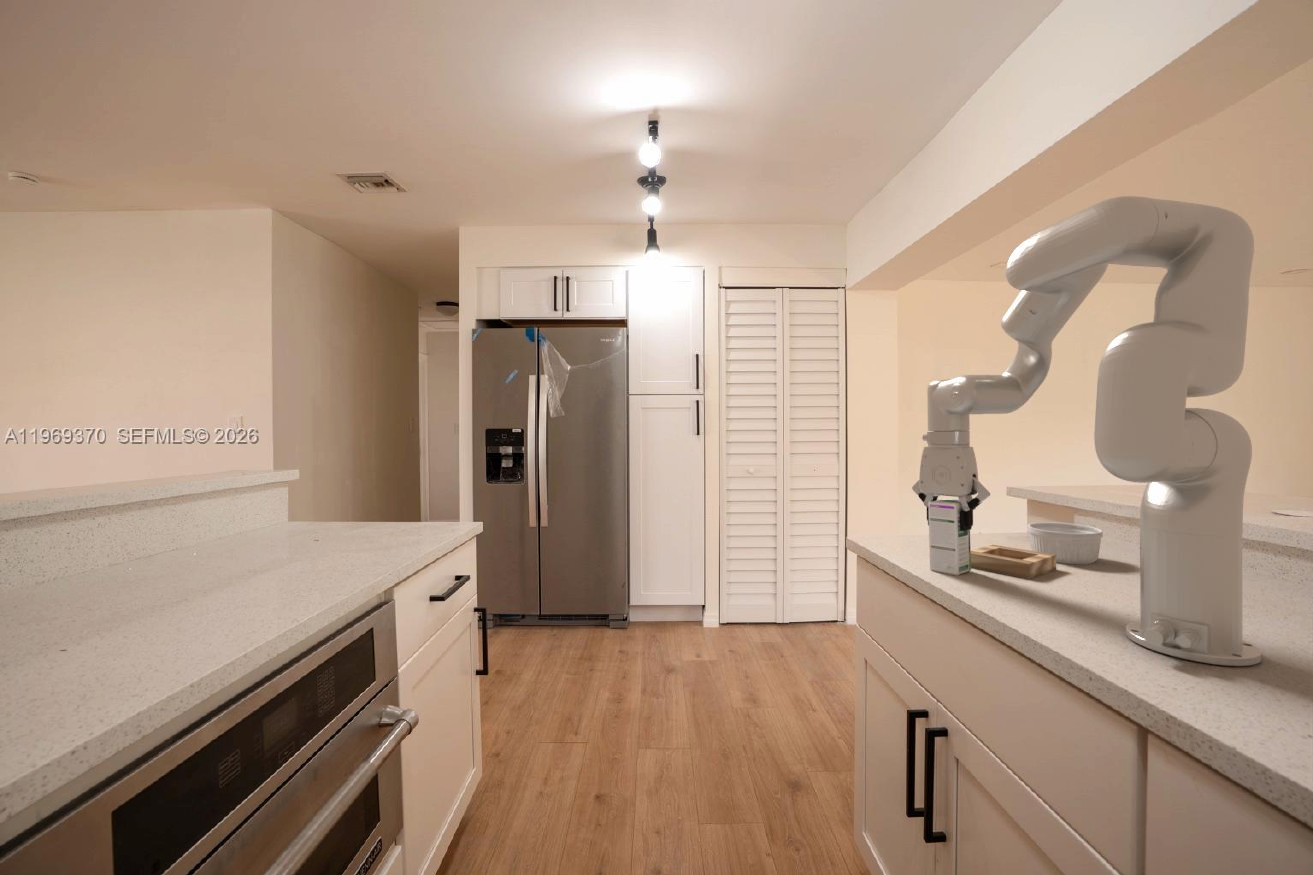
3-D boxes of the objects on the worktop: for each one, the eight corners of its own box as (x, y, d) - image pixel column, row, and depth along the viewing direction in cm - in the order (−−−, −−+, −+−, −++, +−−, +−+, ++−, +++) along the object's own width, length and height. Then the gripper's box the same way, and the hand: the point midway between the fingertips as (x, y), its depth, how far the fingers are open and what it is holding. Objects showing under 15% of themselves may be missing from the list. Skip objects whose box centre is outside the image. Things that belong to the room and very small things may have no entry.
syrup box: (958, 576, 104) (958, 503, 104) (928, 569, 109) (927, 500, 109) (971, 571, 107) (971, 500, 107) (941, 565, 112) (941, 497, 112)
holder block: (1029, 579, 101) (1029, 563, 101) (965, 566, 111) (965, 552, 111) (1056, 569, 108) (1056, 554, 108) (993, 557, 118) (993, 544, 118)
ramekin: (1100, 569, 107) (1100, 535, 107) (1022, 559, 116) (1022, 528, 116) (1104, 557, 117) (1104, 526, 117) (1032, 549, 126) (1032, 520, 126)
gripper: (898, 440, 113) (899, 523, 113) (983, 440, 99) (984, 536, 99) (918, 439, 117) (919, 520, 117) (1003, 439, 103) (1004, 531, 103)
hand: (949, 526), depth 108 cm, fingers closed on syrup box, 5 cm apart
